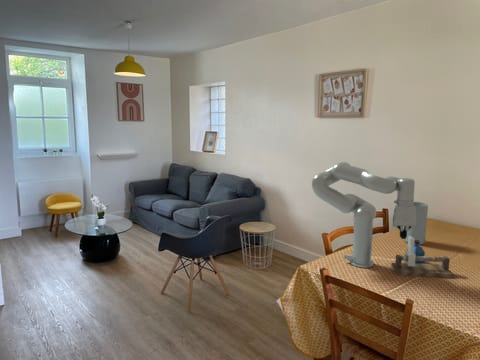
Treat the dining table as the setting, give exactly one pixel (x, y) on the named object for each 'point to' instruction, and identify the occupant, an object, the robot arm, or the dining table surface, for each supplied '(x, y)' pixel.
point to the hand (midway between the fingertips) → (403, 238)
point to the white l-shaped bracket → (410, 252)
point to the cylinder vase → (419, 223)
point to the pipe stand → (423, 267)
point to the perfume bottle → (418, 251)
